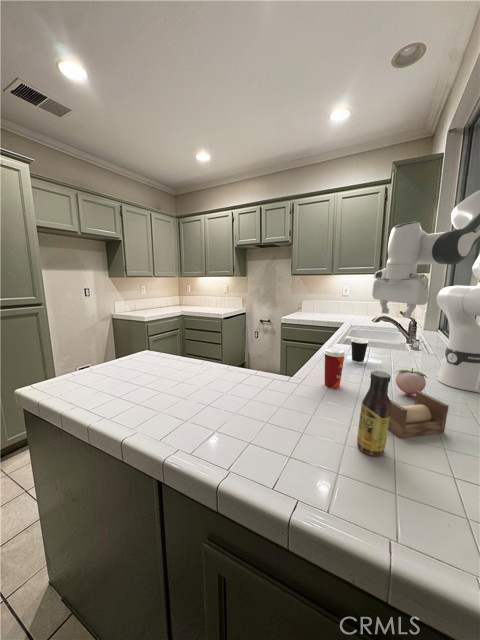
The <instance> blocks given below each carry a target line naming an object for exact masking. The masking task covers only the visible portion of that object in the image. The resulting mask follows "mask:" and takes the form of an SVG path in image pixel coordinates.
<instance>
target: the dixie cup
mask: <svg viewBox="0 0 480 640" xmlns="http://www.w3.org/2000/svg"><path fill="white" fill-rule="evenodd" d="M350 341H351V360H352V362H351V363H354V364H359V365H362V364H364V361H365V357H366V353H367V348H368V345H369V344H368V343H369V341H368V340H366V339H362V338H352V339H350Z"/></svg>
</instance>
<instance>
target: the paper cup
mask: <svg viewBox="0 0 480 640" xmlns="http://www.w3.org/2000/svg"><path fill="white" fill-rule="evenodd" d="M323 353H324V385H326V386H325V387H327V388H331V389H338V388H340V386H341V380H342V376H343V375H342V373H343V368H344V363H345V362H344V361H345V356H346V353H345V350H343V349H340V348H336V347H335V348H334V347H328V348H325V350H324V352H323Z"/></svg>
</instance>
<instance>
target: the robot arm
mask: <svg viewBox="0 0 480 640" xmlns="http://www.w3.org/2000/svg"><path fill="white" fill-rule="evenodd" d="M450 217H451V218H450V220H451V223H452V225H453V227H454V228H455V229H453V230H449V231H443V232H435V233H429V234H428V233H427V232H426V231H425V230H423V229H422V227H421V222H419V221H410V222H405V223H400V224H397V225H395V226H393V228H392V229H391V232H390V235H389V238H388V245H387V255H388V257H387V261H386V264H385V268H383V269H381V270H378V271H376V272H374V276H373V278H374V279H375V280H374V281H373V284H372V285H373V286H372V293H371V295H372V298H373V299H374V300H378V301H379V300H380V301H379V304H380V307H381V313H382V314H389V313H390V308H388V303H389V302H393V303H401V304H406V311H403V315H402V317H403V318H405V319H411V318H412V313H413V312H414V311H415V309H416V308H417V305H419V306H424V305H426V304H427V303H429V298H430V297H429V293H430V292H429V290H430V289H429V277H428V276H427V275H425V274H424V273H417V271H418V265H449V266H450V265H452V266H454V265H458V264H460V263H462V262H463V261H464V260H465V259H467V258H468V256H469V255H470V253H471V252H472V249H473V248H474V246H475V245H476V244H477V243H478V242H479V241H480V189H479V190H477V191H475V192H473V193H472V194H471V195H469V196H468V197H466V198H464V199H463V200H462V201H461V202H459V203H458V204H457V205H456V206H455V207H454V209H453V210H452V211H451V216H450ZM471 272H472V275H474V277H475V278H476V279H478V280H480V253H479V254H478V256H477V258H476V259H475V261H474V264H473V265H472V267H471ZM436 303H437V306H438V307H439V308H440V309H441V310H442V312H443V313H444V315H445V316H446V319H447V322H448V327H449V333H448V334H449V335H448V343H447V346H446V347H445V351H444V352H445V354H444V355H445V357H444V358H443V359H442V362H441V365H440V369H439V372H437V373H436V377H437V381H438V382H440V383H441V384H443V385H446V386H448V387H451V388H454V389H458V390H465V391H470V392H475V393H478V394H480V324H479V323H478V322H477V319H476V316H477V317H480V281H478V284H477V285H475V286H474V285H452V286H446V287H444V288H442V289H440V290H439V292H438V294H437V296H436Z"/></svg>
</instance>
